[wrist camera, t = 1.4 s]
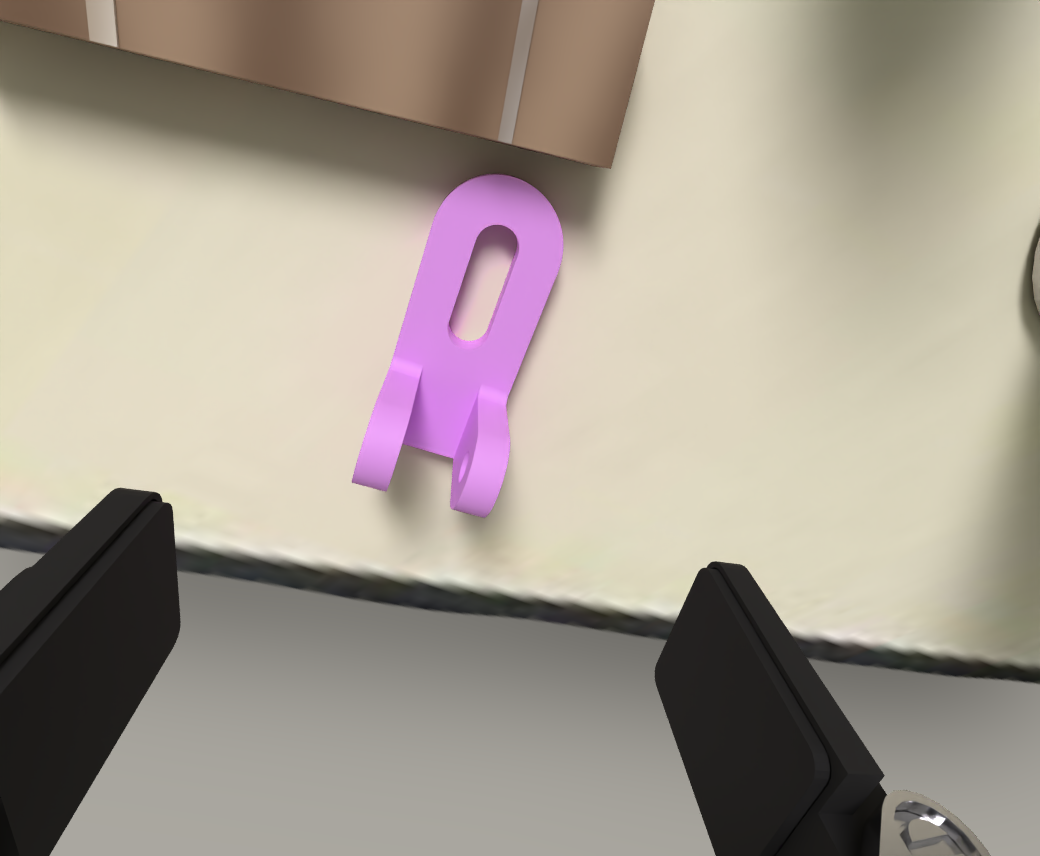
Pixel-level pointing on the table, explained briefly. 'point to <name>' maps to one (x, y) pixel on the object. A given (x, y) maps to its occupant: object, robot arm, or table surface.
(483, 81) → the walnut plank
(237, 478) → the table surface
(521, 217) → the bracket
